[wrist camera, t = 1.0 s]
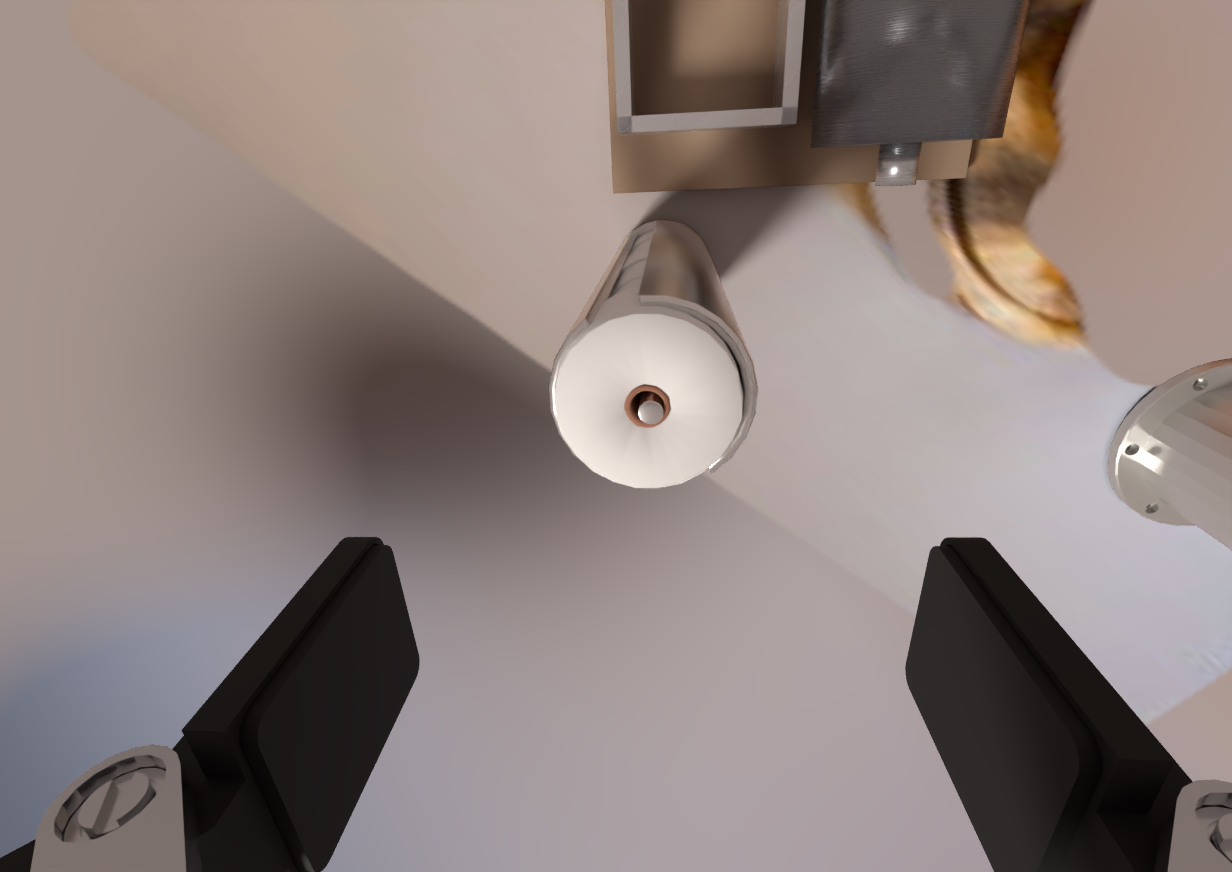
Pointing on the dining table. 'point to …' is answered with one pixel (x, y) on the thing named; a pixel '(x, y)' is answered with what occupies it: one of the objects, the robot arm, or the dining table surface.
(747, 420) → the silver tall cylinder
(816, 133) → the motor mount
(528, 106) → the dining table surface
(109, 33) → the dining table surface
